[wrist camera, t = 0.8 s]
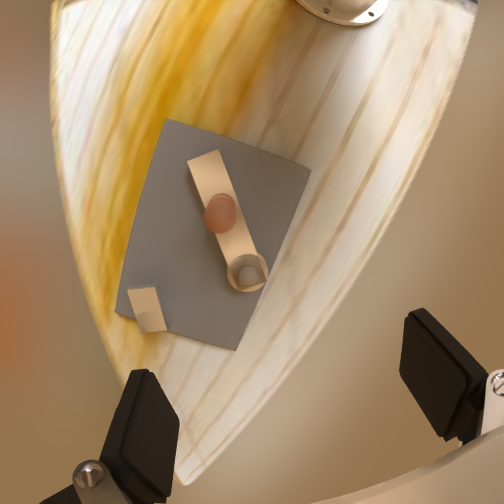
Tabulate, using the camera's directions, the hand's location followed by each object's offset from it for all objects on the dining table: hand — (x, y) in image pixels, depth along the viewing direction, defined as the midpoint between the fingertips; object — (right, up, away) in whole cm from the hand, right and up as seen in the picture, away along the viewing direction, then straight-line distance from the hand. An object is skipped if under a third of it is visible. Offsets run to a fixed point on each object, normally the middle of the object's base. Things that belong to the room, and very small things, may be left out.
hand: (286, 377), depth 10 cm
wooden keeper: (-12, -1, +21) cm, 25 cm away
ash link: (-3, +7, +19) cm, 21 cm away
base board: (-6, +5, +21) cm, 23 cm away
